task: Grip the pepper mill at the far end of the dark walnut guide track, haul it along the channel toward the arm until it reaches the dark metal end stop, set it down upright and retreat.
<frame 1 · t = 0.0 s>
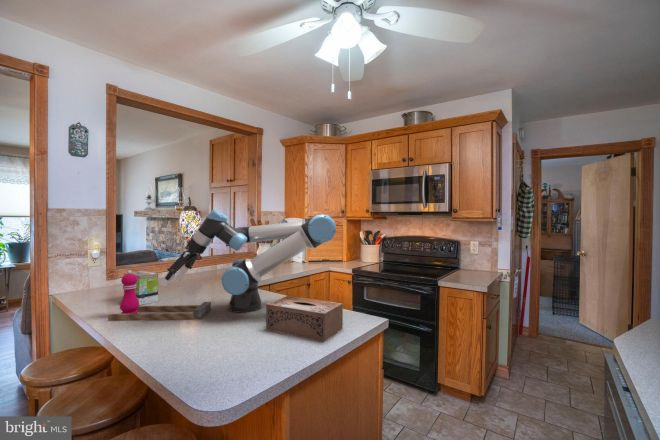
hand: (170, 282, 136), 15 cm above the countertop, tool tilted 35°, fingers open, 13 cm apart
guide track: (160, 315, 139), on the countertop
tea box: (141, 301, 162), on the countertop
tissue box cover: (304, 330, 122), on the countertop
pepper mill: (129, 316, 138), on the countertop
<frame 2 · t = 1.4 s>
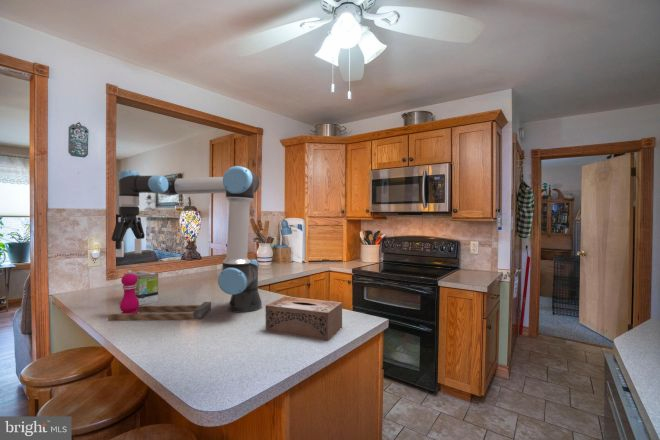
hand: (129, 254, 138), 27 cm above the countertop, tool pointing down, fingers open, 13 cm apart
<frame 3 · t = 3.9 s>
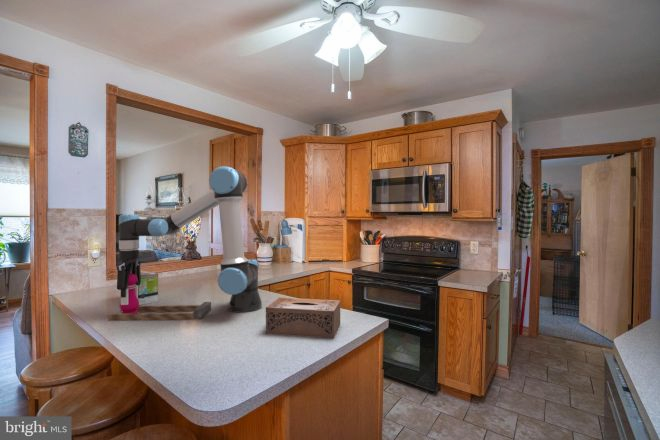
hand: (129, 302, 138), 6 cm above the countertop, tool pointing down, fingers closed on pepper mill, 6 cm apart
pepper mill: (129, 316, 138), on the countertop, touching gripper
when the fingers open (7 cm above the countertop, at t = 10.2 s): pepper mill drops 1 cm, on the countertop.
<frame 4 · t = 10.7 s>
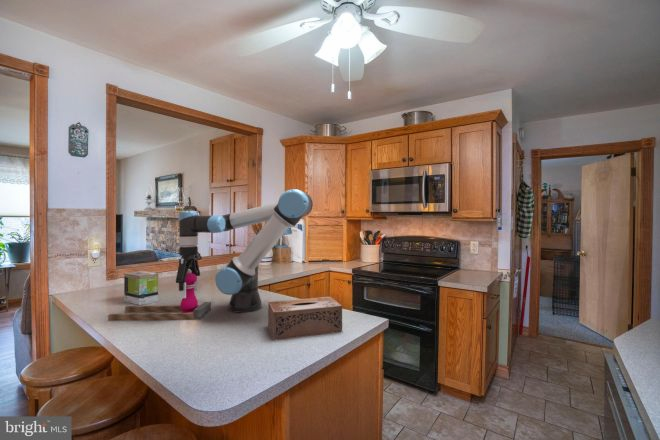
hand: (188, 294, 139), 9 cm above the countertop, tool pointing down, fingers open, 13 cm apart
pepper mill: (189, 315, 139), on the countertop
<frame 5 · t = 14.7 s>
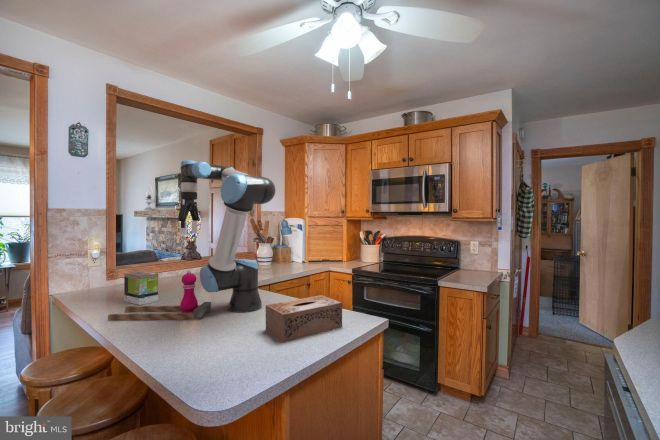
hand: (189, 234, 159), 35 cm above the countertop, tool pointing down, fingers open, 13 cm apart
at the end: pepper mill 0.4 cm from the target spot, on the countertop; pepper mill tilted 0°; the gripper is holding nothing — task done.
